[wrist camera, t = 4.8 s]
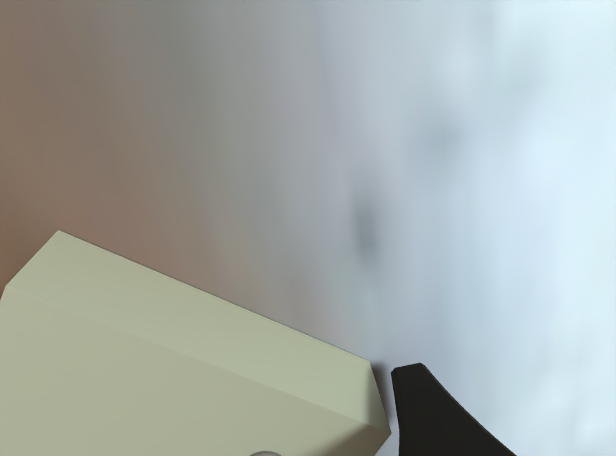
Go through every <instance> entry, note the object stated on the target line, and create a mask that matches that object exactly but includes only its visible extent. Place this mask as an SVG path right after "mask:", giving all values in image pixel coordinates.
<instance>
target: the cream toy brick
mask: <svg viewBox="0 0 616 456" xmlns="http://www.w3.org/2000/svg"><path fill="white" fill-rule="evenodd" d="M390 435H391V430H390V426H389V423H388V420H387V417H386V413H385V410H384V407H383V404H382V401H381V397H380V394H379V391H378V388H377V384H376V381H375V378H374V375H373V372H372V368H371V365H370V362H369V361H367V360H365V359H362V358H360V357H358V356H355V355H353V354H350V353H348V352H346V351H343V350H341V349H339V348H336V347H334V346H332V345H329V344H327V343H324V342H322V341H320V340H317V339H315V338H313V337H310V336H308V335H305V334H303V333H301V332H298V331H296V330H294V329H291V328H289V327H287V326H284V325H282V324H279V323H277V322H275V321H272V320H270V319H268V318H265V317H263V316H260V315H258V314H256V313H253V312H251V311H249V310H246V309H244V308H242V307H239V306H237V305H234V304H232V303H230V302H227V301H225V300H223V299H220V298H218V297H215V296H213V295H211V294H208V293H206V292H204V291H201V290H199V289H197V288H194V287H192V286H189V285H187V284H185V283H182V282H180V281H178V280H175V279H173V278H170V277H168V276H166V275H163V274H161V273H159V272H156V271H154V270H152V269H149V268H147V267H144V266H142V265H140V264H137V263H135V262H133V261H130V260H128V259H125V258H123V257H121V256H118V255H116V254H114V253H111V252H109V251H107V250H104V249H102V248H99V247H97V246H95V245H92V244H90V243H88V242H85V241H83V240H80V239H78V238H76V237H73V236H71V235H69V234H66V233H64V232H62V231H59V230H58V231H57V232H56V233H55V234H54V235H53V236H52V237H51V238H50V239H49V240H48V242H47V243H46V244H45V245H44V246H43V247H42V248H41V249H40V250H39V251H38V252H37V253H36V254H35V255H34V256H33V257H32V259H31V260H30V261H29V262H28V263H27V264H26V265H25V266H24V267H23V268H22V269H21V270H20V271H19V272H18V273H17V274H16V276H15V277H14V278H13V279H12V280H11V281H10V282H9V283H8V284H7V285H6V287H5V290H4V292H3V295H2V297H1V300H0V456H374V455H375V454H376V453H377V451H378V450H379V449H380V447H381V446H382V445H383V444H384V442H385V441H386V440H387V438H388V437H389V436H390Z"/></svg>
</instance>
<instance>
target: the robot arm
mask: <svg viewBox="0 0 616 456" xmlns="http://www.w3.org/2000/svg"><path fill="white" fill-rule="evenodd" d="M391 377H392V384H393V391H394V397H395V404H396V411H397V418H398V424H399V456H517V455H515V454H514V453H513V452H512V451H510V450H509V449H508V448H507V447H506V446H505V445H503V444H502V443H501V442H500V441H499V440H497V439H496V438H495V437H494V436H493V435H492V434H491V433H490V432H488V431H487V430H486V429H485V428H484V427H483V426H482V425H481V424H480V423H479V422H478V421H477V420H476V419H474V418H473V417H472V416H471V415H470V414H469V413H468V412H467V411H466V410H465V409H464V408H463V407H462V406H461V405H460V404H459V403H458V402H457V401H456V400H455V399H454V398H453V397H452V396H451V395H450V394H449V393H448V391H447V390H446V389H445V388H444V387H443V386H442V385H441V384H440V383H439V382H438V380H437V379H436V378H435V377H434V376H433V375H432V373H431V372H430V371H429V370H428V369H427V367H426V366H425V365H423V364H422V363H417V364H412V365H407V366H402V367H397V368H394V370H393V371H392V372H391Z"/></svg>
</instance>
